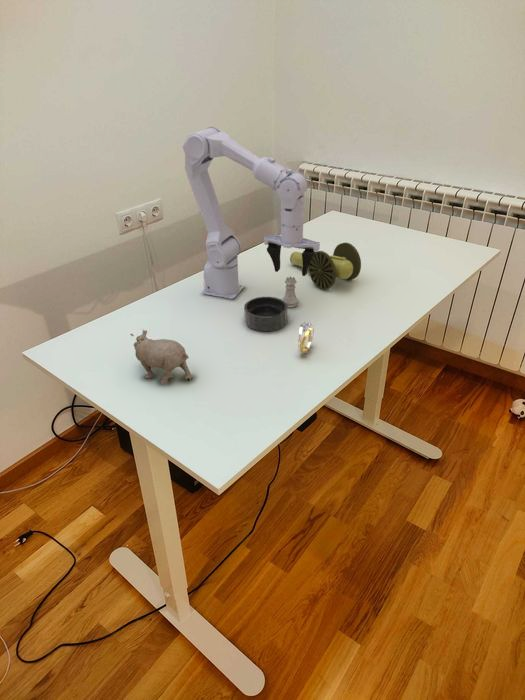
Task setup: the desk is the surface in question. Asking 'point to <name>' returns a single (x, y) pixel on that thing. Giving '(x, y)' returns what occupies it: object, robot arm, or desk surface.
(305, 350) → the ring
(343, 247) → the cannon
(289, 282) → the rook chess piece
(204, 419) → the desk surface
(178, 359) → the brown animal figurine
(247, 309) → the bowl
